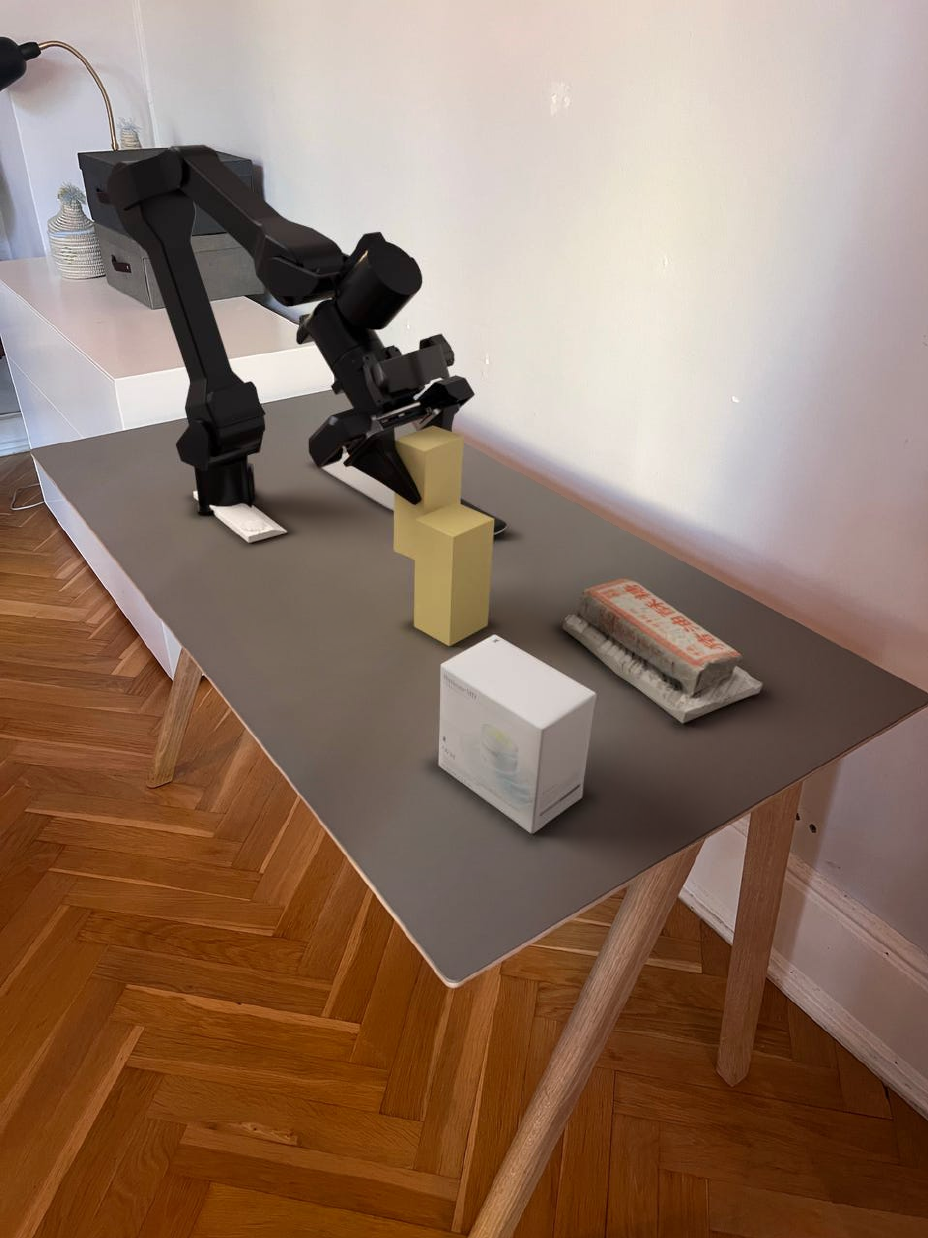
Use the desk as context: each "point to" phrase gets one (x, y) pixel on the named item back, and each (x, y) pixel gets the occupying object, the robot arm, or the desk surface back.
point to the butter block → (452, 572)
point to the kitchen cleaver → (388, 490)
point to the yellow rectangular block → (427, 480)
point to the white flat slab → (247, 521)
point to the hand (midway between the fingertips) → (438, 493)
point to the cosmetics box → (514, 731)
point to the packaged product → (659, 650)
